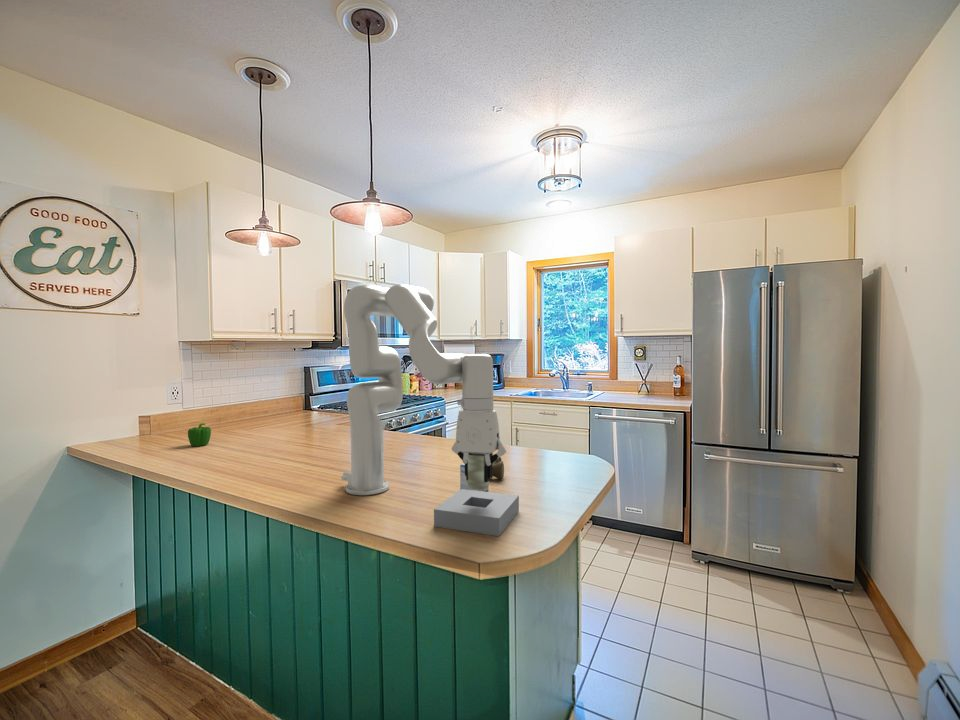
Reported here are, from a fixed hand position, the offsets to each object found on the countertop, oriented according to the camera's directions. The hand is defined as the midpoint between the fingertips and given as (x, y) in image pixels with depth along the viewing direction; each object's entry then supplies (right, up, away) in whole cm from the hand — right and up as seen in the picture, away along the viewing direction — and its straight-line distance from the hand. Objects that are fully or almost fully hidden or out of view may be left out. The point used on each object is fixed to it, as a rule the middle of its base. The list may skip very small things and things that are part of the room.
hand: (478, 479), depth 106 cm
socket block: (0, -10, 0) cm, 10 cm away
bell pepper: (-123, -9, +85) cm, 150 cm away
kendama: (+4, -9, +37) cm, 39 cm away
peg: (0, -2, 0) cm, 2 cm away
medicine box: (-1, -10, +20) cm, 22 cm away
